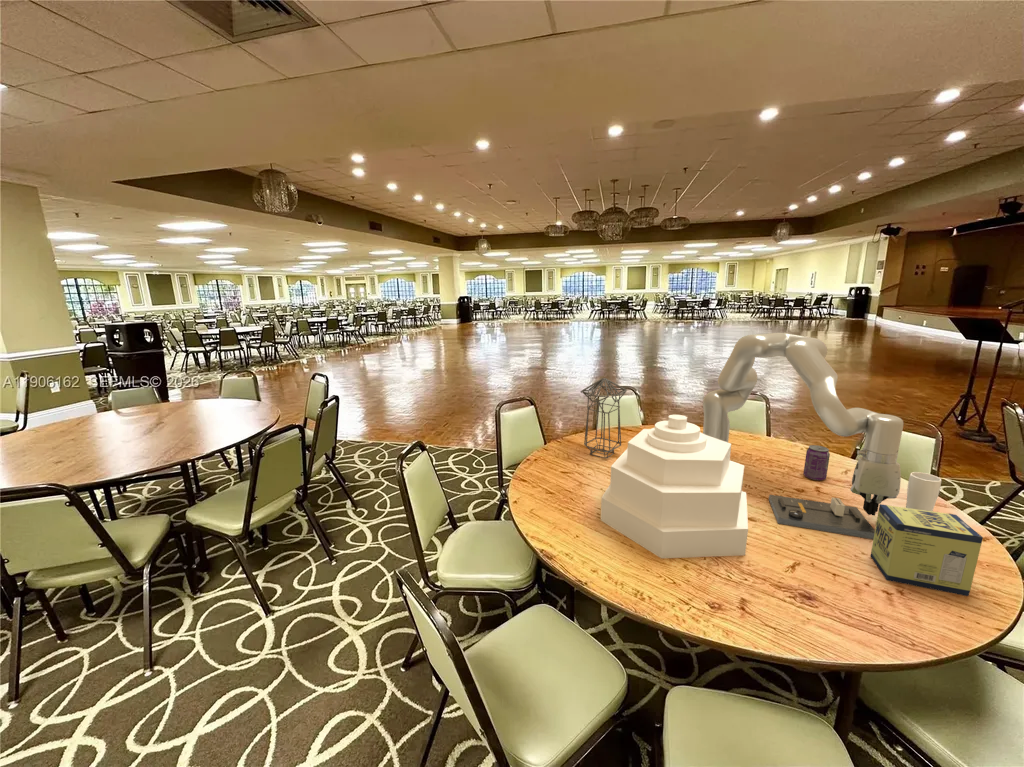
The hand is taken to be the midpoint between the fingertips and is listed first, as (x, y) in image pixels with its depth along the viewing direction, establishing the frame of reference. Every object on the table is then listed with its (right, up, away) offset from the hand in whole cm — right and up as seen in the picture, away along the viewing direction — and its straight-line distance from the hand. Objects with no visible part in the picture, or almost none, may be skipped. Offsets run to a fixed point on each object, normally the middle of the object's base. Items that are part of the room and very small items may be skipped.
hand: (869, 512), depth 125 cm
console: (-13, -3, +4) cm, 14 cm away
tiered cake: (-57, -4, +6) cm, 58 cm away
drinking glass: (+15, -3, +1) cm, 16 cm away
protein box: (-8, -9, -22) cm, 25 cm away
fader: (-7, -1, +3) cm, 8 cm away
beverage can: (+7, +3, +32) cm, 33 cm away
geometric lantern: (-69, +7, +58) cm, 90 cm away
